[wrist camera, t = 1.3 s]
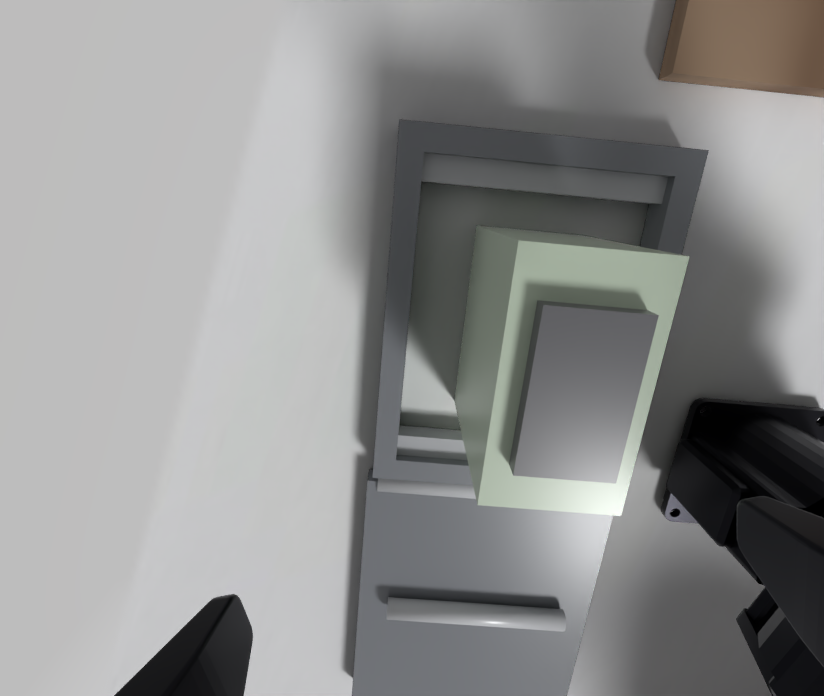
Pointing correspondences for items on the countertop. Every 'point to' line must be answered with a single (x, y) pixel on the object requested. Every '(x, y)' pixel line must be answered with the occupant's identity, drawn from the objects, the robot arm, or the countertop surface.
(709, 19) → the pad
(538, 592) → the grey flat frame
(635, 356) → the module
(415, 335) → the countertop surface
